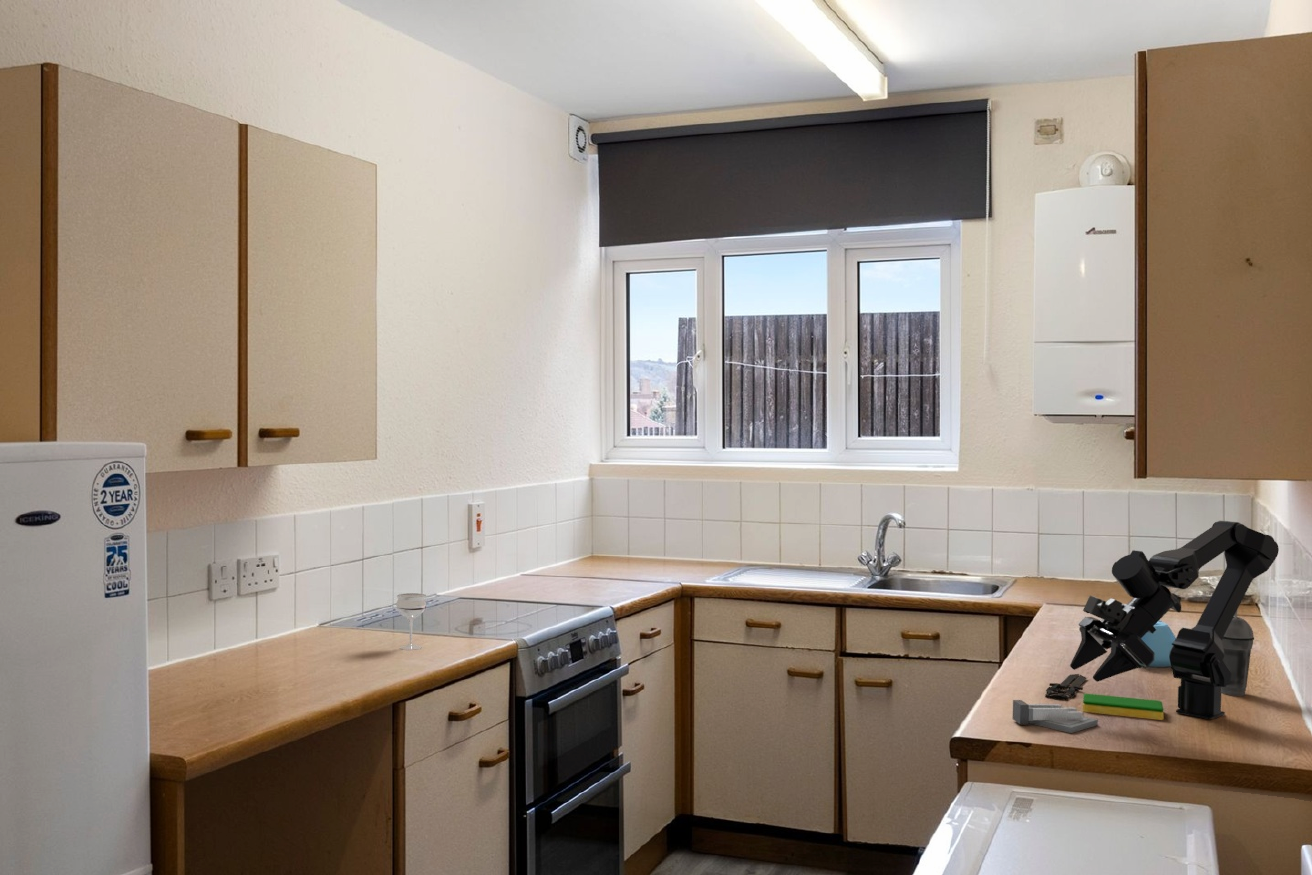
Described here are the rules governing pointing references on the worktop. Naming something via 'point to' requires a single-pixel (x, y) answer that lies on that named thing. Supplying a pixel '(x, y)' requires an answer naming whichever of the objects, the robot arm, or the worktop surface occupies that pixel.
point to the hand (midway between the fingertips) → (1083, 673)
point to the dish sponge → (1123, 706)
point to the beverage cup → (1237, 655)
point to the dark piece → (1071, 689)
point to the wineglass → (411, 611)
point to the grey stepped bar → (1043, 712)
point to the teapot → (1160, 644)
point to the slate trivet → (1067, 724)
